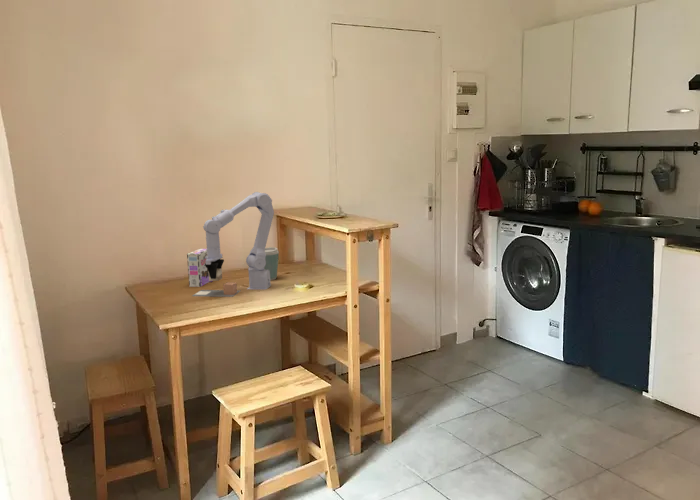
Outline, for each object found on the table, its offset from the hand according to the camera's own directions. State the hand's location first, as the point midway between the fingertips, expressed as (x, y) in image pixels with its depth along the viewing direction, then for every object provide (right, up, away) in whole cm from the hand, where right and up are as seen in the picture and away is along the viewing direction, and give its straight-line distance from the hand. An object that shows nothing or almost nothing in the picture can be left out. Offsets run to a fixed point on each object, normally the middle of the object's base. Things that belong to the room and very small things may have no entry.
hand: (215, 277), depth 261 cm
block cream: (0, -1, 0) cm, 1 cm away
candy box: (-12, -5, +21) cm, 25 cm away
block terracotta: (+7, -7, 0) cm, 10 cm away
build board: (0, -8, +1) cm, 8 cm away
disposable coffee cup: (+20, -2, +29) cm, 35 cm away
